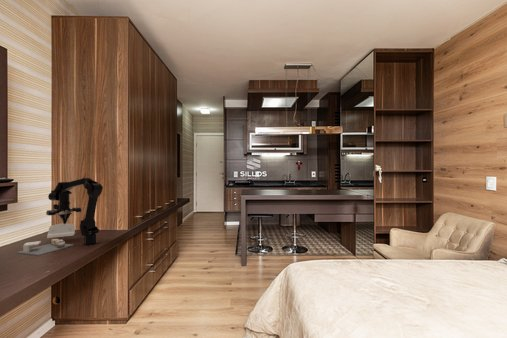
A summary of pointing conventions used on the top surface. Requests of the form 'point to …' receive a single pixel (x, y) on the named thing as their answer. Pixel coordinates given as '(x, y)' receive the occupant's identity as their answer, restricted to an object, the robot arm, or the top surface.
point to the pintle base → (41, 248)
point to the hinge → (61, 230)
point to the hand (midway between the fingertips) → (64, 224)
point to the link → (57, 242)
